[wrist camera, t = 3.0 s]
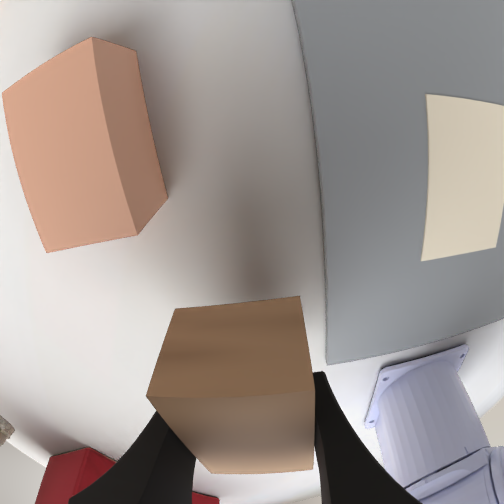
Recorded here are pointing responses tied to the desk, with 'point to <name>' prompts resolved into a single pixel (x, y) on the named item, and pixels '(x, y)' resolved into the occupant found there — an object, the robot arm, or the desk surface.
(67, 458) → the storage cube
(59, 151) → the terracotta block
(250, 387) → the walnut block
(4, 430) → the stone castle ruin
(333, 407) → the robot arm
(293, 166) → the desk surface
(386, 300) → the board
